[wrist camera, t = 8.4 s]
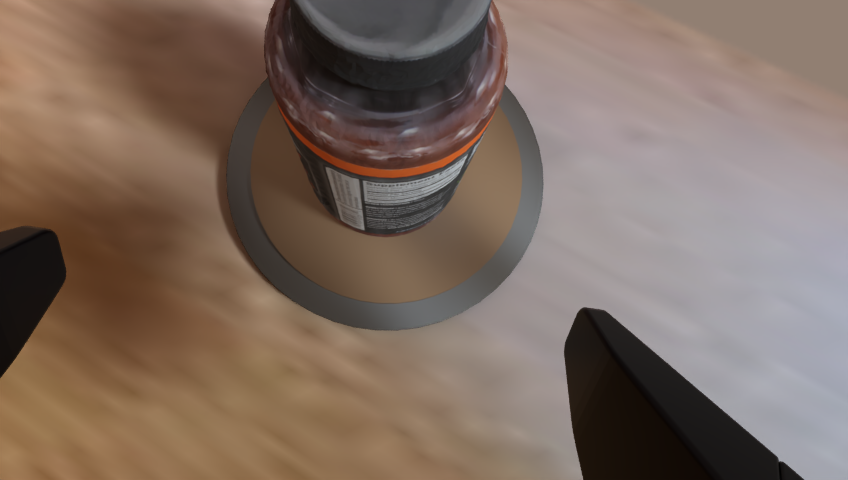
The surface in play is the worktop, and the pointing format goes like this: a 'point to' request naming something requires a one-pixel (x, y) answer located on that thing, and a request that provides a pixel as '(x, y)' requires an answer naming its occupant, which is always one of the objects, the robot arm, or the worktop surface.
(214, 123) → the worktop surface
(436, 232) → the coaster
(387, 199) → the supplement bottle
